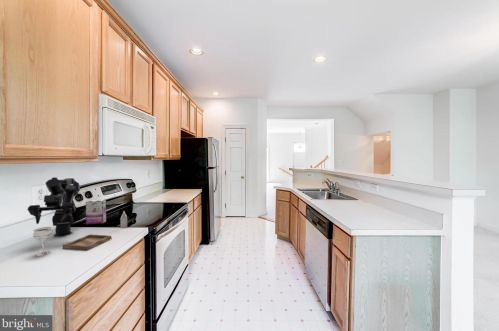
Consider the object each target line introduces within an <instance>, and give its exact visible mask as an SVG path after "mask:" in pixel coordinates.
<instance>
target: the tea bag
mask: <svg viewBox="0 0 499 331" xmlns="http://www.w3.org/2000/svg"><path fill="white" fill-rule="evenodd" d="M122 212H123V213H122V215H121V217H120V229H124V228H128V216H127V214H126V212H125V210H123V211H122Z"/></svg>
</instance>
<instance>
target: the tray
mask: <svg viewBox="0 0 499 331" xmlns="http://www.w3.org/2000/svg"><path fill="white" fill-rule="evenodd" d="M110 239H111V240H112V235H109V234H106V235H105V234H87V235H85V236H82V237H80V238H77V239H75V240H72V241H70V242H67V243H65V244H62V250H73V251H89V250H91V249H93V248H95V247H98V246H100V245H102V244H104V243H106V242H108V241H111V240H110Z"/></svg>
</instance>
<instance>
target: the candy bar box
mask: <svg viewBox="0 0 499 331" xmlns="http://www.w3.org/2000/svg"><path fill="white" fill-rule="evenodd" d="M106 203H107V200H106V199H99V200H98V199H97V200H96V199H94V200H92V199H91V200H86V201H85V224H86V225H95V224H97V225H98V224H104V223H106V222H107V206H106V205H107V204H106Z"/></svg>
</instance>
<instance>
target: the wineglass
mask: <svg viewBox="0 0 499 331" xmlns="http://www.w3.org/2000/svg"><path fill="white" fill-rule="evenodd" d="M32 231H33V238H34V240H35V239H36V240H38V241H41V244H42V245H41V247H42V251H41V252H39V253H36V255H37V256H40V257H41V256H45V255H48V254H50V253H51V251H49V250H48V251H45V241H46V240H47V239H49V238H50V237H51V236H52V234H53V227H52V226H44V227H39V228H36V229H33V230H32ZM36 255H35V256H36Z"/></svg>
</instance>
